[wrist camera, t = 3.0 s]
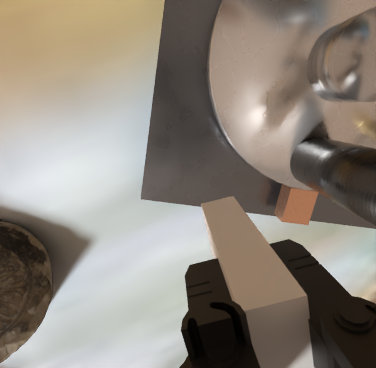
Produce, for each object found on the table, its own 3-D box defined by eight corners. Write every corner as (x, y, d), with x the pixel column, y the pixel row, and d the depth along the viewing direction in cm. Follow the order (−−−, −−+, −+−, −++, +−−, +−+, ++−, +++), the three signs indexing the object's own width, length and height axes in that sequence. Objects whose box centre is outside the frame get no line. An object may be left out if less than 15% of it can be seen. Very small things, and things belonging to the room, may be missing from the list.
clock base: (186, -160, 16) (200, -358, 9) (499, -68, 18) (691, -168, 12) (142, 190, 22) (132, 229, 15) (384, 222, 24) (466, 266, 18)
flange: (236, -123, 14) (350, -492, 5) (491, -50, 16) (880, -236, 7) (182, 202, 19) (195, 283, 10) (381, 227, 21) (533, 314, 12)
